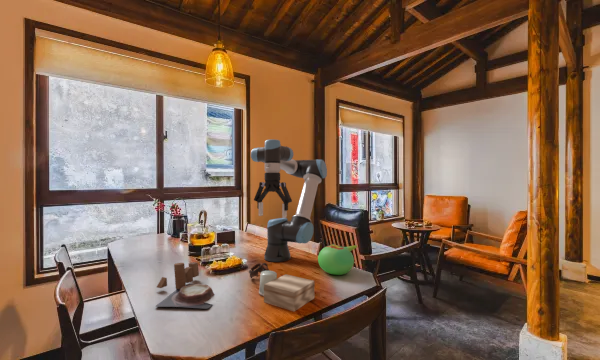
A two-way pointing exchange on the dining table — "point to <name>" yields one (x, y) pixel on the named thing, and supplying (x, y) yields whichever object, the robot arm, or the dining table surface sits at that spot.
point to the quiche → (189, 297)
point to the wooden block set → (182, 275)
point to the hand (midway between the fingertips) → (272, 216)
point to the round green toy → (336, 259)
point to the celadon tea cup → (266, 279)
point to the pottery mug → (258, 269)
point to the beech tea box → (289, 292)
